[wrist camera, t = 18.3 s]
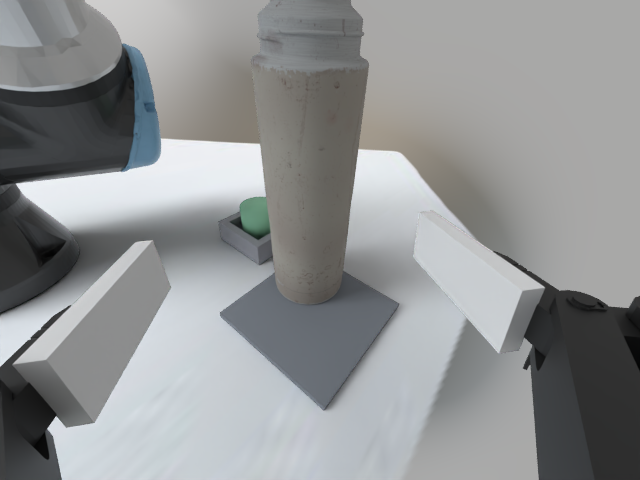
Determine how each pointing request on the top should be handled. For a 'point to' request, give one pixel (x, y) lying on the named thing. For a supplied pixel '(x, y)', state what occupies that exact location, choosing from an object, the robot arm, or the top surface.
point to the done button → (255, 217)
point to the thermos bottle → (309, 137)
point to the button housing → (245, 239)
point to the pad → (312, 332)
